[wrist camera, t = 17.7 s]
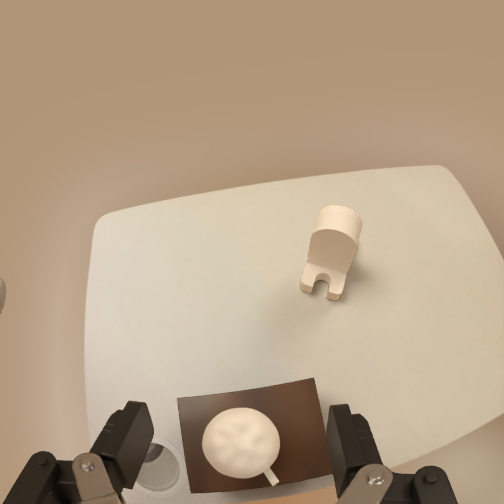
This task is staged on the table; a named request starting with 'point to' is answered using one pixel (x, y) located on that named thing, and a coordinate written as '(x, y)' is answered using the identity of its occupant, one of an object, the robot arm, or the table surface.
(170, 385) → the table surface
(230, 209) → the table surface
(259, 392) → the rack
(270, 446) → the milkshake
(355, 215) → the cream mounting bracket
